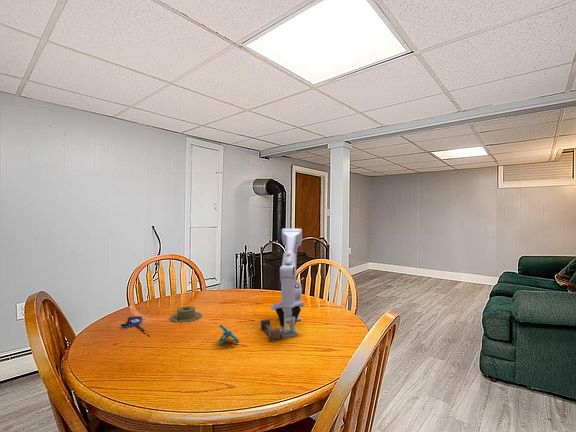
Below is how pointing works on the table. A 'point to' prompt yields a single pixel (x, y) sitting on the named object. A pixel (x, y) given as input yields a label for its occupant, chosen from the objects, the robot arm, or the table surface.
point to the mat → (288, 333)
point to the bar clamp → (133, 322)
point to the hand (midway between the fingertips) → (287, 325)
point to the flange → (186, 314)
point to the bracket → (292, 322)
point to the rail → (270, 330)
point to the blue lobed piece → (227, 335)
